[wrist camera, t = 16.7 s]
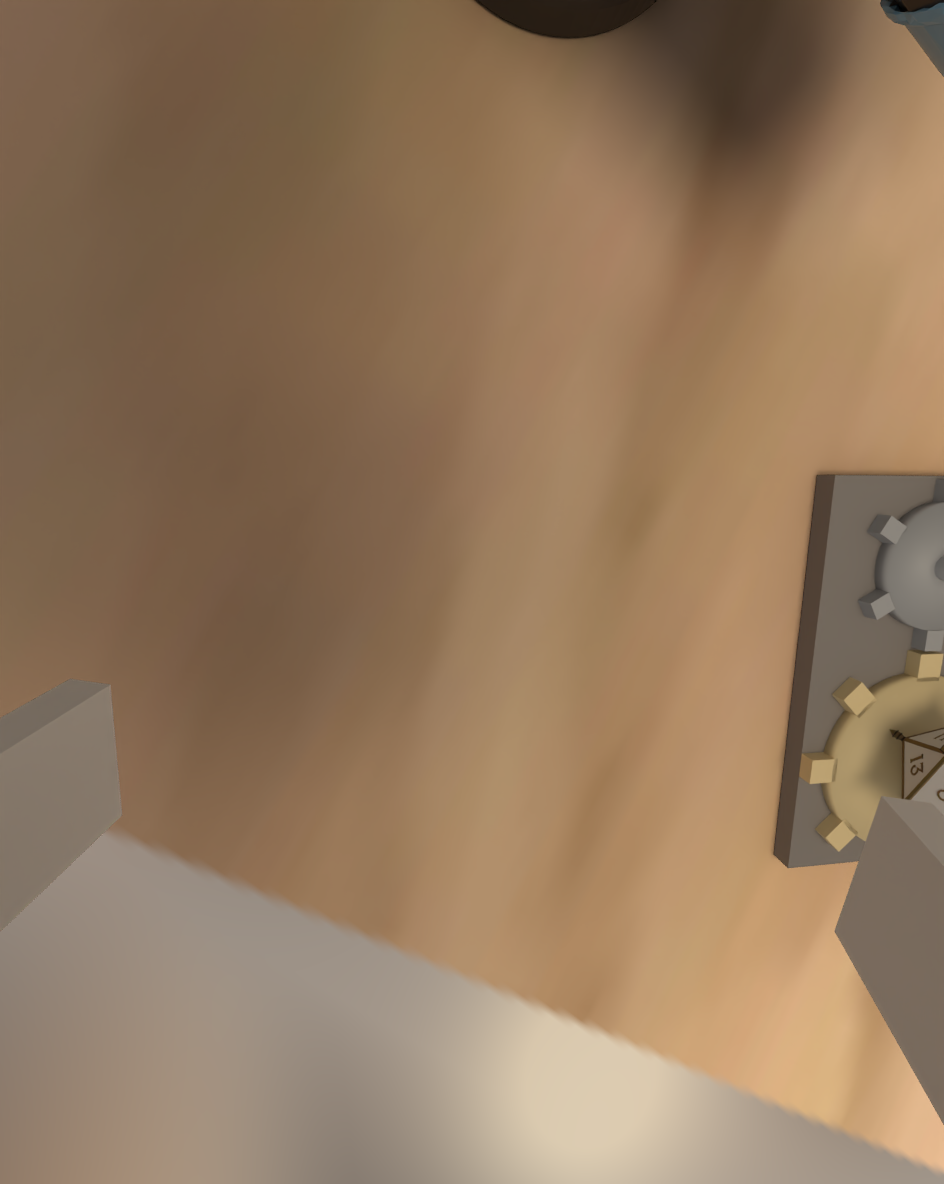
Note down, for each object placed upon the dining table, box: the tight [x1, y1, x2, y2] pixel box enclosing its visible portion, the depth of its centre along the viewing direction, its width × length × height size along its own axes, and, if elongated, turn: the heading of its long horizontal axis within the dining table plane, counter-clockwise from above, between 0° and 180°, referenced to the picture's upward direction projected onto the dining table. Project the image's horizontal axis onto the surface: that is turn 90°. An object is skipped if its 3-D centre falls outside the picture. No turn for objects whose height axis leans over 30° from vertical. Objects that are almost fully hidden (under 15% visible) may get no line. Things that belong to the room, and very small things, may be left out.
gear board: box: [774, 475, 944, 868], centre depth 38 cm, size 26×15×5 cm, turn 179°
